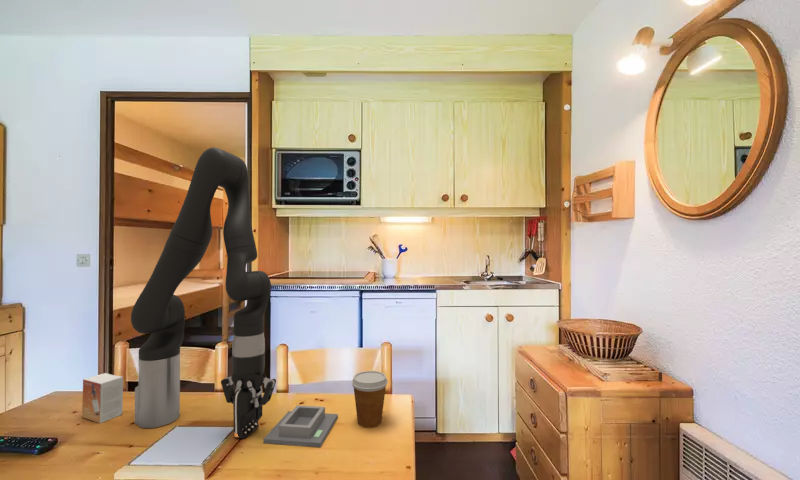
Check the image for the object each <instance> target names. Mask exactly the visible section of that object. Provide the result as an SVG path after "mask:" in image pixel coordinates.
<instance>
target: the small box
mask: <svg viewBox="0 0 800 480" xmlns="http://www.w3.org/2000/svg"><path fill="white" fill-rule="evenodd" d="M123 393H124V377H123V376H121V375H120V376H119V375H115V374H111V373H108V372H104V373H101V374H97V375H94V376H90V377H86V378H83V380H82V406H81V407H82V414H81V417H82V419H83V418H84V419H87V420H90V421H92V422H95V423H98V424H102V423H105V422H106V421H109V420H111V419H114V418H117V417H119V416H121V415H123V404H124V401H123V397H124V396H123V395H124V394H123Z"/></svg>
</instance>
